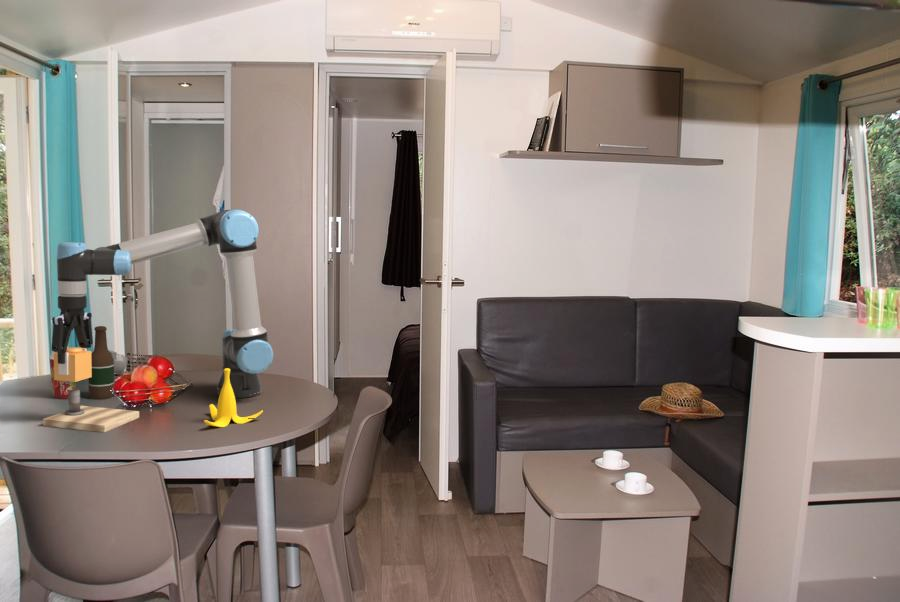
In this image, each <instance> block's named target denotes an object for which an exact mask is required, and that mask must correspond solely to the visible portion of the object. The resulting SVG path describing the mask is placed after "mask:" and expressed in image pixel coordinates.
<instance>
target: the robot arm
mask: <svg viewBox="0 0 900 602" xmlns="http://www.w3.org/2000/svg"><path fill="white" fill-rule="evenodd" d="M259 231H260V229H259V225H258V222H257V220H256V218H255V217H254V216H253V215H252V214H250V213H249V212H246V211H245V210H241V209H225V210H224V209H223V210H221V211H218V212H215V213H213V214H210V215H207V216H204V217H201V218H198V219H196V221H195V222H194V223H190V224H187V225H183V226H179V227H175V228H172V229H167V230H165V231H160V232H156V233H153V234H149V235H145V236H141V237H138V238H133V239H131V240H130V239H128V240H126V241H122V242H118V243H116V244H111V245H107V246H100V247H97V248H95V249H88V248H87V245H86V243H85V242H76V241H75V242H72V241H70V242H68V241H66V242H65V241H64V242H62V241H61V242H59V244H58V245H57V250H56V251H57V252H56V253H57V255H56V263H57V264H56V267H57V268H56V271H57V273H56V274H57V275H56V276H57V294H58V297H57V308H58V309H60V313H59V316H57V317H56V316H53V317H52V319H51V320H52V326H53V327H52V338H51V351H52V352H53V351H54V352H57V353H58V364H59V374H61V375H69V353H67V352H66V350H67V346H68V345H69V342H70V337H71V335H72V334H71V333H72V331H73V330H74V332H75V333H74V334H75V335H76V340H77V343H78V347H80V348H82V350H86V351H88V349H91V347H92V345H93V344H94V340H93V329H92V312H85V310H84V309H86V308H87V306H88V305H87V303H88V302H87V301H88V299H87V296H86V295H87V293H88V291H87V287H88V286H87V284H88V283H87V276H90V275H91V276H93V275H97V276H103V275H104V276H123V275H125V276H126V275H129V274H130V273H131V268H132V265H134V264H138V263H141V262H146V261H149V260H153V259H156V258H160V257H164V256H167V255H171V254H175V253H178V252H181V251H185V250H189V249H192V248H193V249H194V248H196V247H200V246H204V247H212V246H215V245H216V246H217V245H219V252H220V255H222V256H223V257H225V261H226V267H227V268H226V269H227V277H228V285H229V286H228V287H229V292H230V293H229V294H230V300H231V302H230V303H231V308H232V316H233V324H234V329H226V330H225V329H224V330H223V332H222V338H221V341H222V372H221V375H220V378H219V381H218V385H217V388H216V389H217V390H216V391H217V392H216V394H217V395H218V396H219V395H220V392H221V389H222V387H223V384H224V379H225V375H224V369H226V368H229V369H230V375H229V379H230V384H231V387H232V389H233V392H234V396H235V399H241V398H242V399H243V398H251V397H256V396H259V395H261V394H262V392H263V391H262V390H263V389H262V383H261V380H260V378H259V374H261V373H263V372H265V370H267V369H268V368H269V367H270V366H271V364H272V362H273V359H274V351H273V347H272V345H271V344H270V343H269V338H268V331H267V329H266V328H265V327H263V325H262V321H261V319H262V318H261V312H260V304H259V303H260V302H259V294H258V287H257V279H256V270H255V263H254V254H256V252H257V250H258V249H257V238H258V237H259ZM68 347H69V346H68ZM62 348H63V349H62ZM260 391H261V392H260ZM257 392H259V393H257ZM254 393H256V394H254ZM250 394H251V395H250Z"/></svg>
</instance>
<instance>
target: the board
mask: <svg viewBox="0 0 900 602" xmlns="http://www.w3.org/2000/svg"><path fill="white" fill-rule="evenodd" d="M137 419H140V410H139V411H138V410H130V409H129V410H128V409H121V408H120V409H119V408H118V409H117V408H109V407H100V406H99V407H97V406H86V405H81V390H80V389H78V388H76V389H72V390H69V398H68V410H65V411H62V412H60V413H56V414H54V415H51V416H49V417H45V418H42V426H43V427H50V428H60V429H69V430H77V431H78V430H80V431H88V432H97V433H106V432H110V431H111V430H113V429H116V428H119V427H120V426H123V425H126V424H127V423H130V422H133V421H135V420H137Z"/></svg>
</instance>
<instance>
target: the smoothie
mask: <svg viewBox="0 0 900 602" xmlns="http://www.w3.org/2000/svg"><path fill="white" fill-rule="evenodd" d="M69 347H70V346H67V348H69ZM62 349H63V348H62ZM54 353H56V352H54V351H52V352H51V353H50V356H49V357H48V358H49V369H50V370H49V371H50V378H51V388H52V390H51V391H52V394H53V396H54V398H55V399H60V400H62V399H63V400H65V399H66V400H67V399H69V390H72V389H77V382H71V381H60V380H54Z"/></svg>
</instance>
